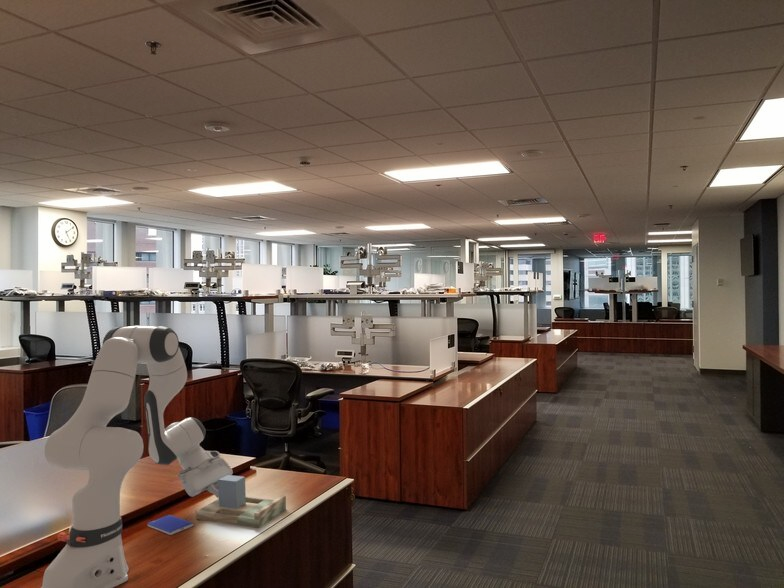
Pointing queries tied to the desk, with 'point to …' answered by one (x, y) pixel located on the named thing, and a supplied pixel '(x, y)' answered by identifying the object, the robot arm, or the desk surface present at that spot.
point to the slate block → (231, 491)
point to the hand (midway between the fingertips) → (221, 495)
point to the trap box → (244, 512)
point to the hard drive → (170, 524)
